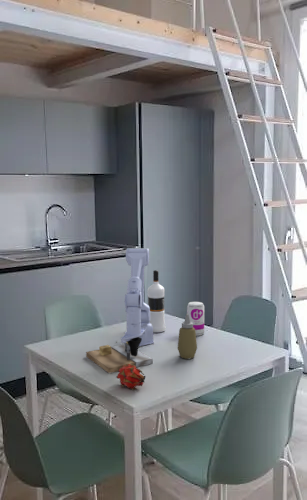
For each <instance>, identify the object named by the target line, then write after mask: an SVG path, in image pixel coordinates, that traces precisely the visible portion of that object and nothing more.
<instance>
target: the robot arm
mask: <svg viewBox="0 0 307 500" xmlns="http://www.w3.org/2000/svg"><path fill="white" fill-rule="evenodd" d="M125 261H126V263H127V265H128V266H130V278H128V280H127V285H126V286H127V289H126V294H125V295H124V306H125V308H124V309H125V313H126V315H125V317H126V318H125V319H126V331H124V335H123V336H122V337H120V342H121V343H122V344H125V343H126V342H128V344H129V346H130V349H131V355H132V356H137V354H138V350H139V347H142V346H146V345H152V344H155V342H154V333H153V327H152V324H151V323H150V307H149V306H148V303H145V295H144V293H145V291H144V288H145V286H144V285H145V283H144V282H145V281H144V278H145V277H144V274H145V273H144V271H145V268H146V267H147V266H149V265H150V249H149V248H148V247H146V248H145V247H144V248H143V247H141V248H139V247H137V248H135V247H133V248H132V247H131V248H129V247H127V248H126V249H125Z"/></svg>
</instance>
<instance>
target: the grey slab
mask: <svg viewBox="0 0 307 500" xmlns="http://www.w3.org/2000/svg"><path fill="white" fill-rule="evenodd" d="M85 353H86V354H85V355H86V356H85V357H86V358H88V359H89V361H92V362H93V363H95V364H96V365H97V366H98V367H100V368H101V369H103V370H104V371H105V372H107V373H108V374H112V373H116V372H119V369H120V368H121V367H122V366H123V365H126V364H131V365H135V366H136V368H139V367H142V366H147V365H151V364H153V363H154V359H153V357H150V356H149V355H147V354H145V353H144V352H142V351H140V350H139V349H138V354H137V356H132V355H131V351H130V360H127V351H125V344H120V345H115V346H110V345H109V344H106V345H100V346H99V349H95V350H89V351H86V352H85Z"/></svg>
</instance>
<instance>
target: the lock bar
mask: <svg viewBox="0 0 307 500" xmlns="http://www.w3.org/2000/svg"><path fill="white" fill-rule="evenodd" d="M124 345H125V351H127V360H130V351H131V349H130V346H129V344H128V342H126V343H124Z"/></svg>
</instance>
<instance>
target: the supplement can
mask: <svg viewBox="0 0 307 500" xmlns="http://www.w3.org/2000/svg"><path fill="white" fill-rule="evenodd" d="M186 314H189V318H190V322H192V323H193V328H194V329H195V332H196V337H200V336H203V335H204V334H205V305H204V303H203V302H201V301H190V302H188V303H187V306H186Z"/></svg>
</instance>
